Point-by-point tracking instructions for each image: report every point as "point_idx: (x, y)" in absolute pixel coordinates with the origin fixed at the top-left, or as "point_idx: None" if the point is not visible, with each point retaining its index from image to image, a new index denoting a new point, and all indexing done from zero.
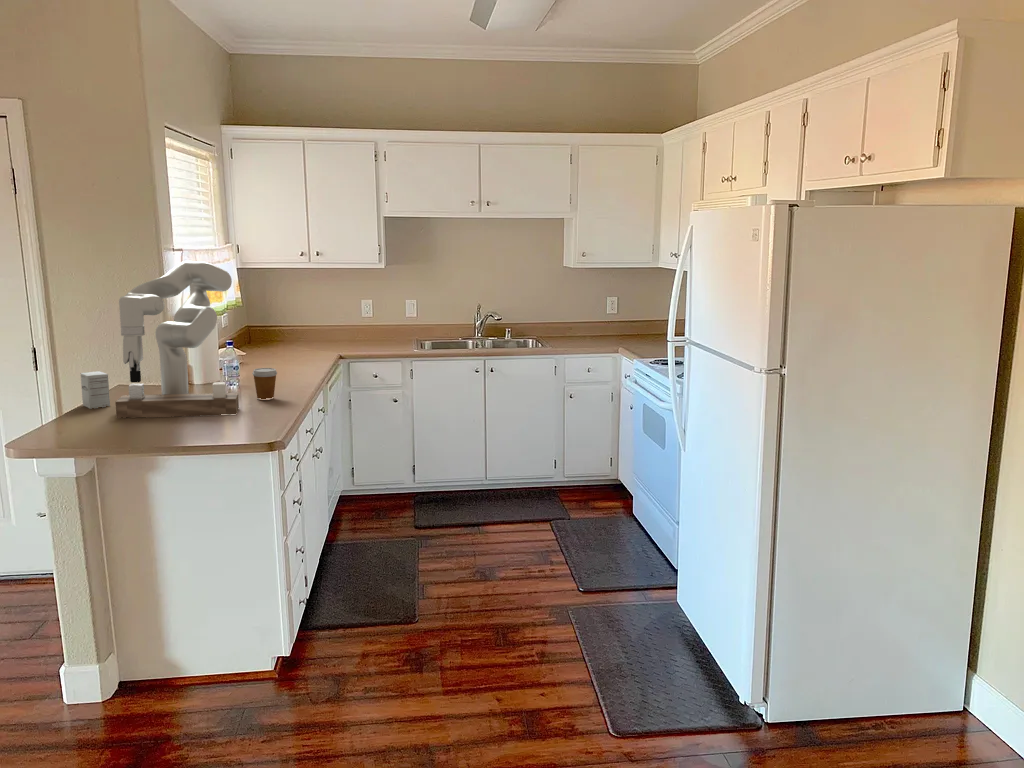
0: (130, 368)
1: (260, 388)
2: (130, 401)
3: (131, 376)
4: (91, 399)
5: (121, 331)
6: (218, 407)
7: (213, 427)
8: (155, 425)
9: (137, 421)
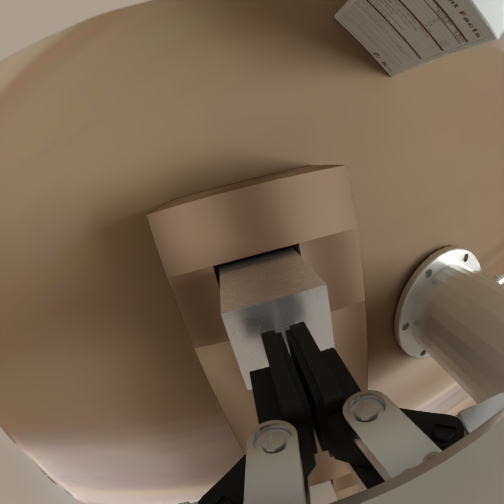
0: (247, 471)
1: None
2: (175, 297)
3: (271, 378)
4: (355, 6)
5: None
6: None
7: (145, 479)
8: (105, 385)
9: (133, 314)
